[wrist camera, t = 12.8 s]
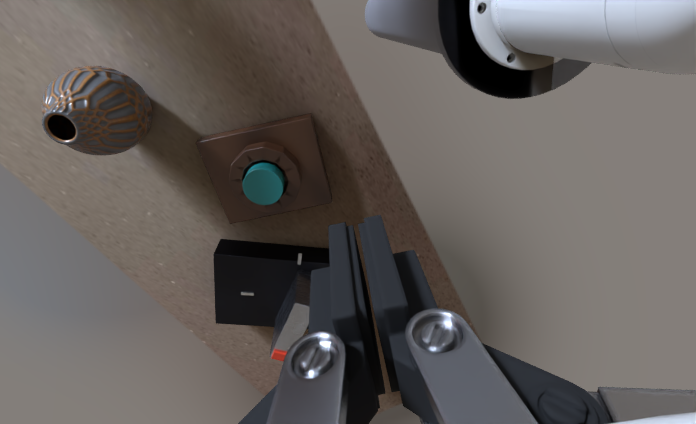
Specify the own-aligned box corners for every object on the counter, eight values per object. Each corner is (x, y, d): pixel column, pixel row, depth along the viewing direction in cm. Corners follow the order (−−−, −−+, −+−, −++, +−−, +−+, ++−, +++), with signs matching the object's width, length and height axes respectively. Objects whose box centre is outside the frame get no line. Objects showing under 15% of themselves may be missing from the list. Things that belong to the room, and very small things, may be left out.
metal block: (298, 267, 38) (294, 305, 33) (317, 273, 39) (316, 310, 34) (275, 318, 42) (269, 359, 37) (293, 323, 42) (289, 363, 37)
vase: (69, 62, 30) (-17, 75, 23) (152, 61, 31) (95, 75, 23) (96, 140, 34) (29, 175, 26) (171, 139, 34) (126, 173, 26)
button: (278, 158, 32) (276, 165, 31) (289, 192, 34) (287, 201, 33) (240, 166, 32) (236, 173, 31) (253, 200, 34) (250, 208, 33)
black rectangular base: (354, 242, 41) (356, 258, 38) (339, 319, 47) (340, 338, 44) (220, 230, 39) (212, 246, 36) (222, 312, 45) (215, 331, 42)
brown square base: (311, 113, 34) (310, 122, 31) (331, 195, 38) (332, 210, 35) (200, 137, 34) (188, 148, 31) (233, 216, 38) (225, 233, 35)
